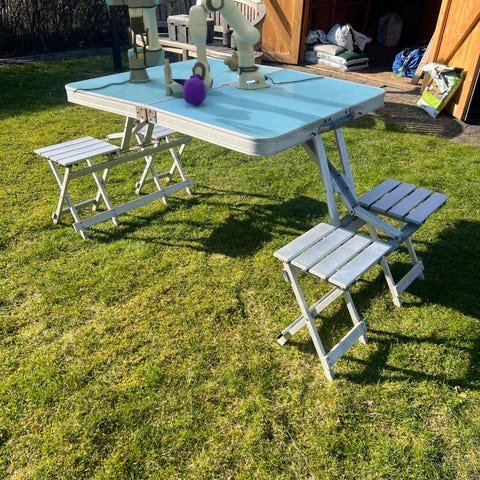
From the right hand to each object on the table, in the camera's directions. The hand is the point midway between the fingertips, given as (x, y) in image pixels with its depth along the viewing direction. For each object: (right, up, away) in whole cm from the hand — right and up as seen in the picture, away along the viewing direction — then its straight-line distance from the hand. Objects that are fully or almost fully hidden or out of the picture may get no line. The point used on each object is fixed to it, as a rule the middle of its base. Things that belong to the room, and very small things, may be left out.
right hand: (167, 84), depth 295 cm
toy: (+18, -18, -18) cm, 32 cm away
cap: (-14, +11, -19) cm, 26 cm away
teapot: (+44, +37, +74) cm, 94 cm away
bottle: (+1, -6, +3) cm, 7 cm away
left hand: (-14, +9, -18) cm, 25 cm away
